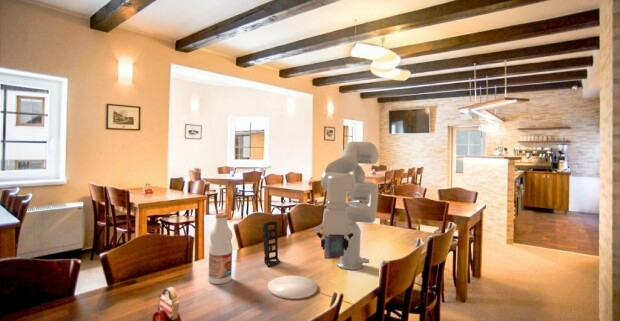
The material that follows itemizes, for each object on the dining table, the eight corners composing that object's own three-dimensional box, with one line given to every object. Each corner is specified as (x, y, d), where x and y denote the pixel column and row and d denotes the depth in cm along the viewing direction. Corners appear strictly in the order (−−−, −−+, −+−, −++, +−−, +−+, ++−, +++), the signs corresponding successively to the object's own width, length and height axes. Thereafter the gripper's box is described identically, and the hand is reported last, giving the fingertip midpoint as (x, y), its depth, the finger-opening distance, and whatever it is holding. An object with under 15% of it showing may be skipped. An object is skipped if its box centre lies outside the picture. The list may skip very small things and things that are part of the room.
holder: (275, 267, 154) (273, 225, 154) (260, 267, 156) (258, 225, 156) (282, 260, 165) (280, 220, 165) (268, 260, 167) (265, 221, 167)
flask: (326, 259, 128) (327, 232, 127) (322, 257, 130) (322, 230, 130) (345, 256, 133) (346, 229, 132) (340, 253, 135) (341, 228, 135)
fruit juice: (209, 276, 142) (210, 212, 141) (231, 275, 144) (233, 212, 143) (207, 285, 133) (209, 216, 132) (231, 283, 135) (233, 216, 134)
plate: (316, 279, 143) (316, 276, 143) (318, 300, 123) (318, 296, 123) (270, 277, 143) (270, 275, 143) (265, 298, 123) (265, 295, 123)
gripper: (356, 204, 134) (354, 246, 135) (313, 203, 134) (312, 245, 135) (359, 208, 127) (357, 252, 128) (314, 207, 126) (313, 251, 127)
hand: (334, 248), depth 131 cm, fingers closed on flask, 8 cm apart
